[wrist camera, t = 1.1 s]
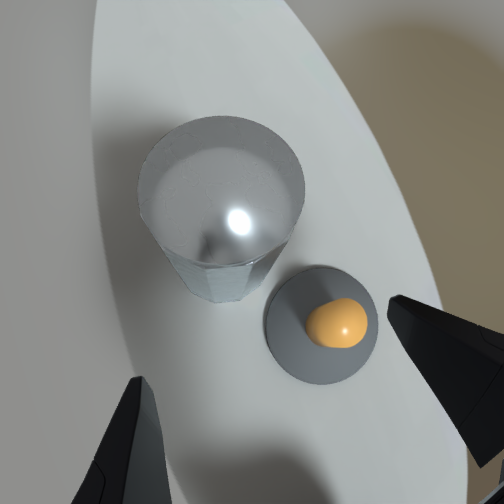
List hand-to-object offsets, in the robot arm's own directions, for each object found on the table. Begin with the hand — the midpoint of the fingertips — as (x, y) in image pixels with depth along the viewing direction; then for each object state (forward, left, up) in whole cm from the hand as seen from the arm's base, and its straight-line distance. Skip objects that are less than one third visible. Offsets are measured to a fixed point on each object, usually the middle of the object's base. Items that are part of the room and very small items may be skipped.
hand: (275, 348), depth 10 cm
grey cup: (+6, -2, -13) cm, 15 cm away
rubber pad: (-3, -5, -13) cm, 14 cm away
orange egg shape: (-3, -5, -12) cm, 14 cm away
